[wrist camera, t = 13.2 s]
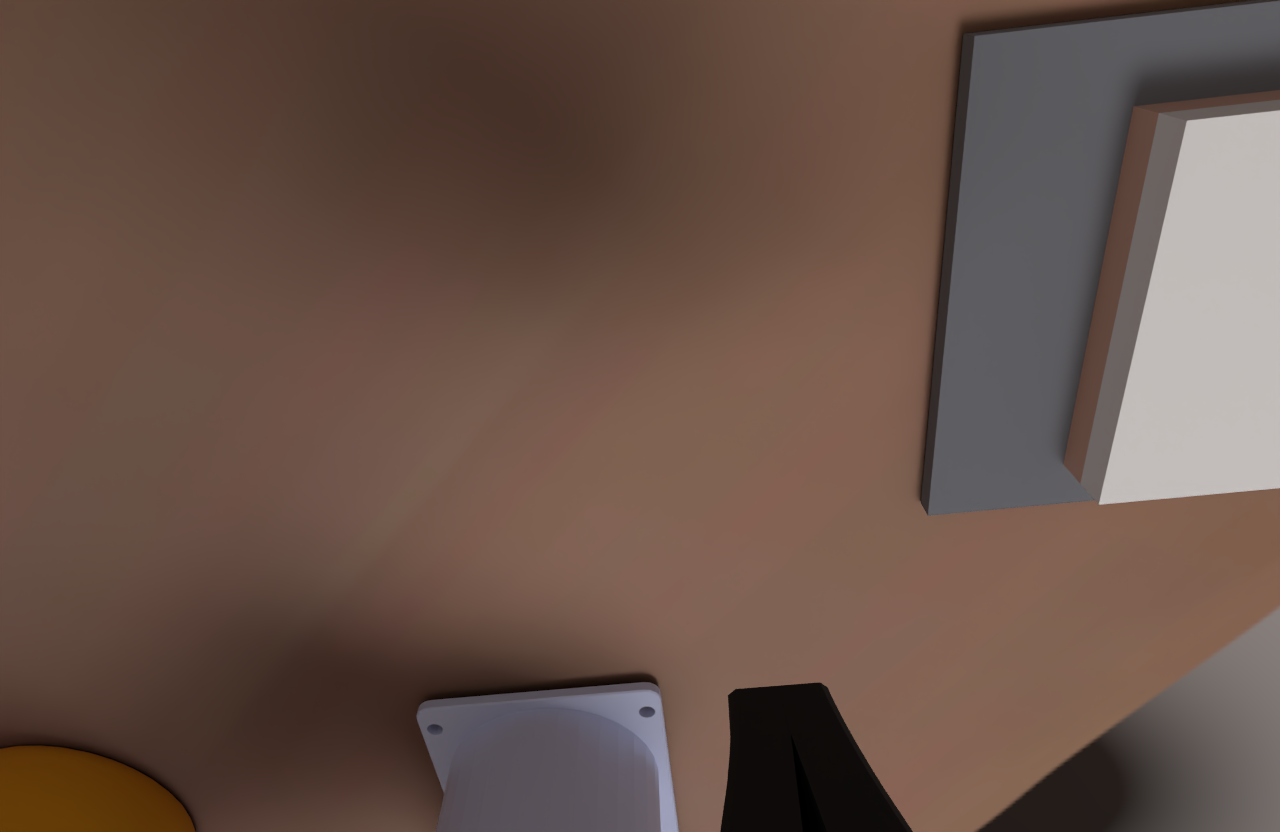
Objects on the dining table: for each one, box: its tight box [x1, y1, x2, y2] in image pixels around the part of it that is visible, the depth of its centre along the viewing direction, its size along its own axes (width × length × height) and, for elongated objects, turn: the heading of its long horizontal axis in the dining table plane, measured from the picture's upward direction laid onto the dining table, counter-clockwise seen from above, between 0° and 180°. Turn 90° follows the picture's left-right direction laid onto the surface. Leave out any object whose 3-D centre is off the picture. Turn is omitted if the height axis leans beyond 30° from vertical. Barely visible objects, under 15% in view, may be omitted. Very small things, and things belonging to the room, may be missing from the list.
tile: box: [1063, 90, 1280, 505], centre depth 18 cm, size 9×2×6 cm
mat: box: [921, 0, 1280, 515], centre depth 19 cm, size 12×10×1 cm
